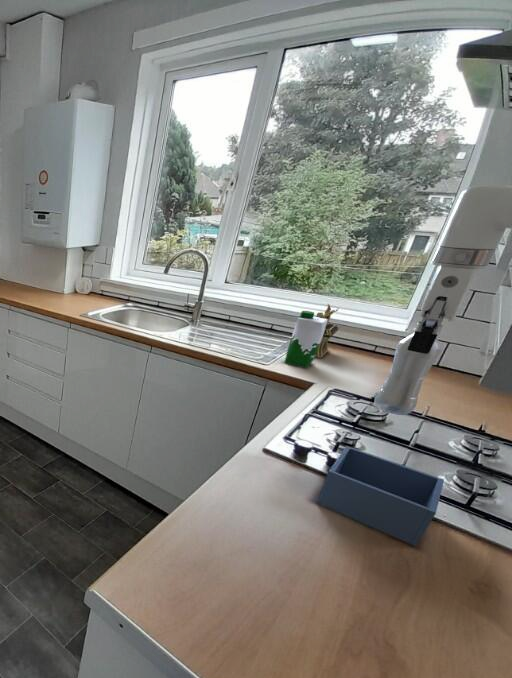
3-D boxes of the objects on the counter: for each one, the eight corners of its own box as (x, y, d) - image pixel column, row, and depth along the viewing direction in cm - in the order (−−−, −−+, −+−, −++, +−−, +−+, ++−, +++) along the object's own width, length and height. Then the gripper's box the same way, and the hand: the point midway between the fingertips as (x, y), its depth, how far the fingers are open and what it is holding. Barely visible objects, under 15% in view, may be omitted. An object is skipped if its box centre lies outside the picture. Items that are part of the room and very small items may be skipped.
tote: (426, 511, 84) (444, 479, 80) (416, 546, 75) (435, 512, 71) (333, 474, 94) (346, 445, 91) (315, 502, 85) (328, 471, 82)
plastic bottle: (414, 421, 86) (459, 330, 78) (373, 413, 89) (412, 325, 81) (406, 409, 91) (447, 322, 83) (367, 402, 94) (403, 318, 86)
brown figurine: (322, 359, 163) (340, 311, 155) (294, 353, 170) (310, 306, 161) (333, 349, 176) (350, 303, 168) (306, 343, 182) (321, 299, 174)
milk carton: (288, 357, 165) (304, 309, 157) (314, 363, 159) (332, 313, 151) (281, 362, 160) (297, 312, 152) (308, 369, 154) (326, 317, 145)
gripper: (490, 264, 69) (441, 363, 76) (491, 256, 79) (448, 344, 87) (429, 259, 74) (389, 352, 81) (437, 252, 84) (401, 335, 92)
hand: (420, 347), depth 84 cm, fingers closed on plastic bottle, 6 cm apart
